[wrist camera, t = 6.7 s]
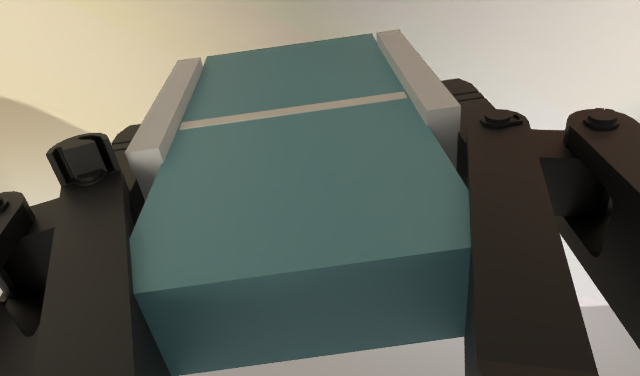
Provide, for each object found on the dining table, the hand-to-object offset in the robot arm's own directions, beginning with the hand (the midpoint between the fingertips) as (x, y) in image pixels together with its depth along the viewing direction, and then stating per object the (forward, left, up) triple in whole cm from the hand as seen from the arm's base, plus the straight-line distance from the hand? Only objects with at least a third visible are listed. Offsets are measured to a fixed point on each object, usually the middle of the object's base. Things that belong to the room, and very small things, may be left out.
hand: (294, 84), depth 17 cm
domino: (0, 0, -1) cm, 1 cm away
